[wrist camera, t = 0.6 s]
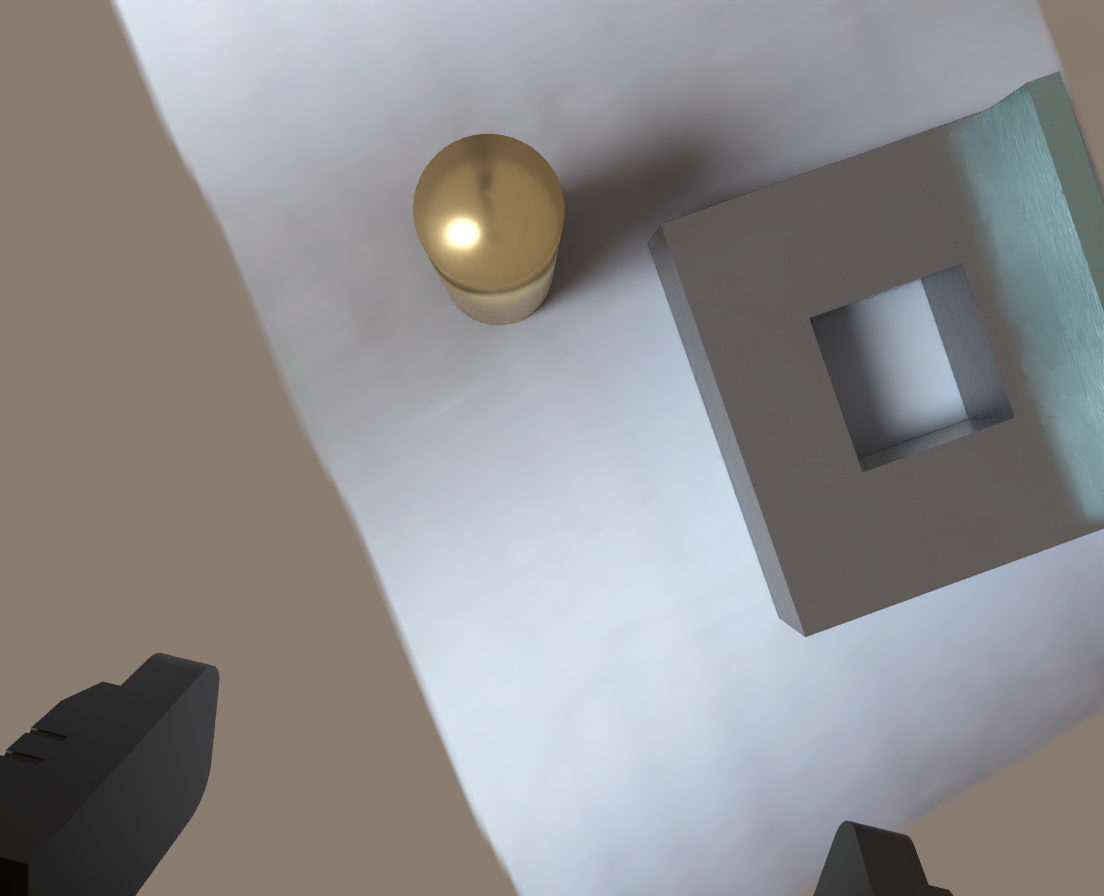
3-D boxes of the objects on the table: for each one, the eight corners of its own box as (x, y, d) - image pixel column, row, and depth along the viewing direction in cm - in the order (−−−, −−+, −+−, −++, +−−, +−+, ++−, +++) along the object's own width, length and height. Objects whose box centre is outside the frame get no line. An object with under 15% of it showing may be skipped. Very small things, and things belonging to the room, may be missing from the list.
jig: (647, 243, 37) (672, 207, 31) (973, 129, 37) (1059, 71, 31) (779, 617, 37) (827, 653, 31) (1099, 501, 38) (1208, 514, 32)
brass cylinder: (427, 235, 37) (391, 163, 27) (531, 199, 37) (534, 113, 27) (464, 340, 37) (443, 306, 27) (568, 303, 37) (585, 256, 27)
